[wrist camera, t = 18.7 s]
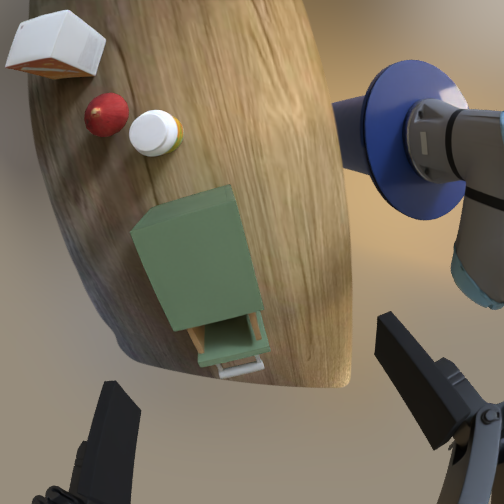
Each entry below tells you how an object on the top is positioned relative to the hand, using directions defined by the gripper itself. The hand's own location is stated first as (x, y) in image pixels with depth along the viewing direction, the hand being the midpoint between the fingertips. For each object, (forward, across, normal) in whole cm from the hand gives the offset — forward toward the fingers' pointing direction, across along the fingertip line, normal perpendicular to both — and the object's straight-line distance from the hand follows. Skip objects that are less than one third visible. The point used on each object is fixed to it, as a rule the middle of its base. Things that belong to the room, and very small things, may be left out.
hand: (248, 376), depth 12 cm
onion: (+29, -11, +18) cm, 36 cm away
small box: (+29, -15, +30) cm, 44 cm away
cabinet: (+29, -4, -3) cm, 29 cm away
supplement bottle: (+29, -5, +13) cm, 32 cm away
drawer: (+28, -4, -14) cm, 31 cm away
